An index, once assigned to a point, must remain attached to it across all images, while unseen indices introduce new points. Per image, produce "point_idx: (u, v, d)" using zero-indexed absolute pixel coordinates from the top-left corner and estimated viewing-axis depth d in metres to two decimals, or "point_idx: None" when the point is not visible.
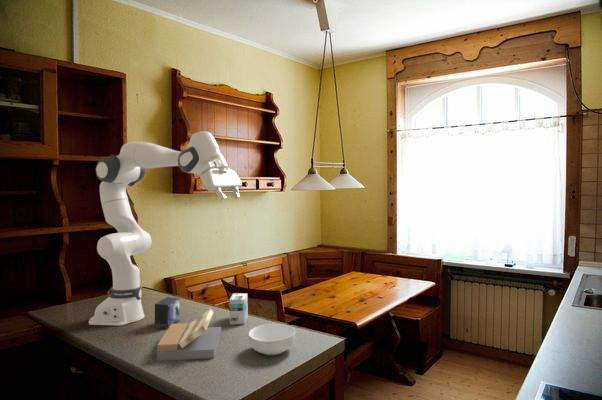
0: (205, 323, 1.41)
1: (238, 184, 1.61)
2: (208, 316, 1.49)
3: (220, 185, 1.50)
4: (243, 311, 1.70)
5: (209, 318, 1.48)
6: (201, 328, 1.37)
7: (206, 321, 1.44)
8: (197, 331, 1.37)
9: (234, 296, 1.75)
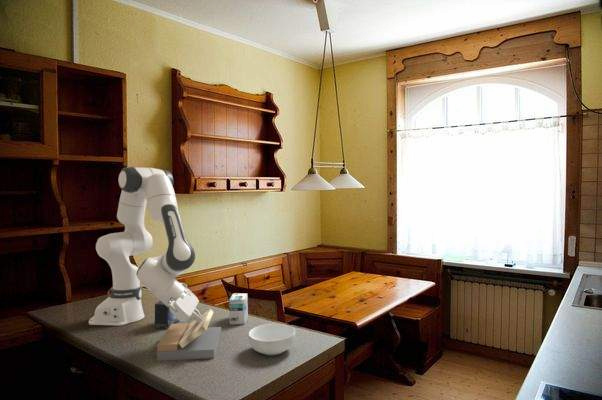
0: (205, 323, 1.41)
1: None
2: (208, 316, 1.49)
3: None
4: (243, 311, 1.70)
5: (209, 318, 1.48)
6: (201, 328, 1.37)
7: (206, 321, 1.44)
8: (197, 331, 1.37)
9: (234, 296, 1.75)
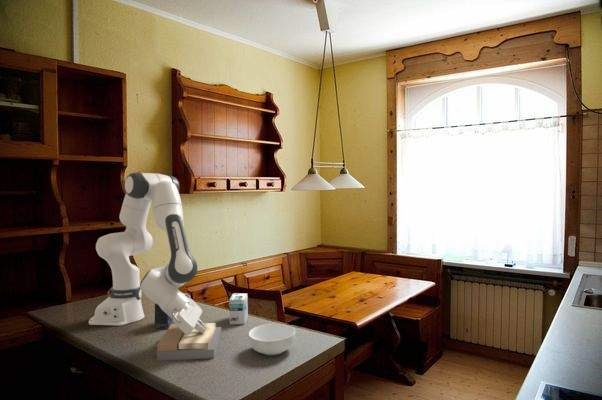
0: (209, 340, 1.42)
1: None
2: (212, 332, 1.49)
3: None
4: (243, 311, 1.70)
5: (212, 334, 1.49)
6: (205, 344, 1.38)
7: (210, 338, 1.44)
8: (200, 344, 1.38)
9: (234, 296, 1.75)
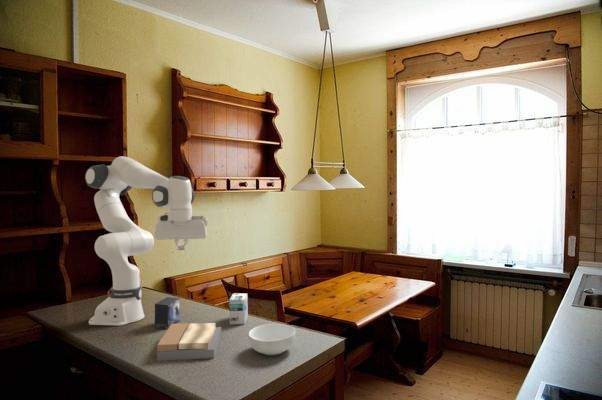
0: (209, 340, 1.42)
1: (197, 237, 1.61)
2: (212, 332, 1.49)
3: (166, 238, 1.60)
4: (243, 311, 1.70)
5: (212, 334, 1.49)
6: (205, 344, 1.38)
7: (210, 337, 1.44)
8: (200, 344, 1.38)
9: (234, 296, 1.75)
